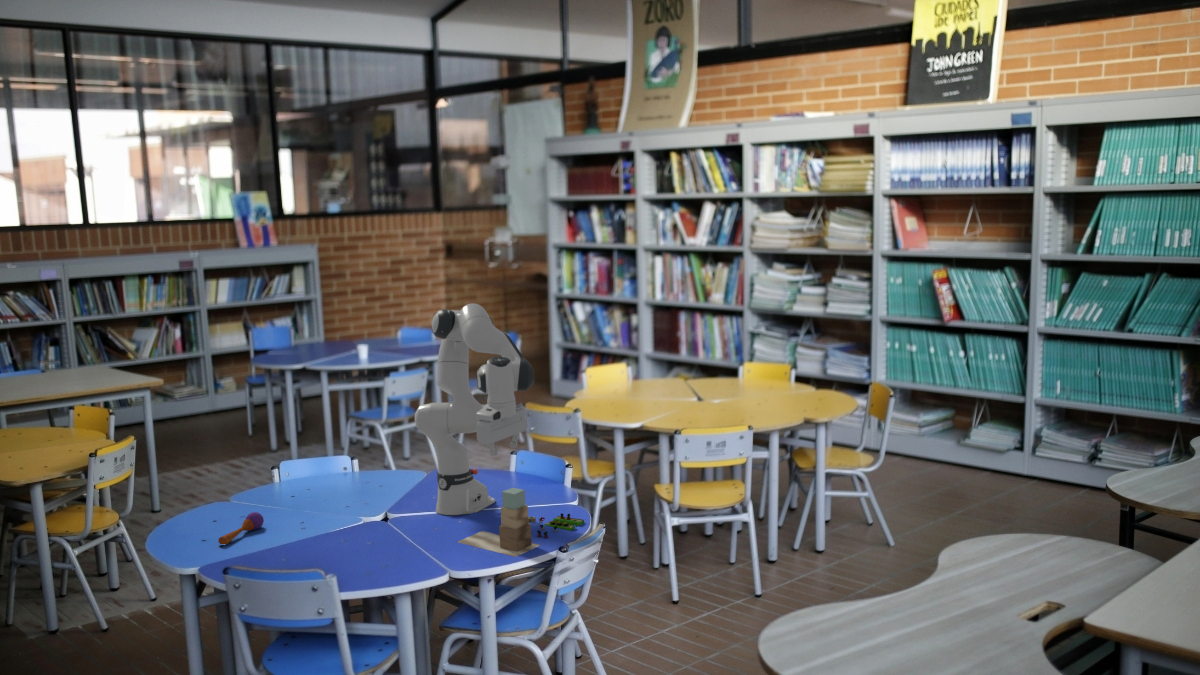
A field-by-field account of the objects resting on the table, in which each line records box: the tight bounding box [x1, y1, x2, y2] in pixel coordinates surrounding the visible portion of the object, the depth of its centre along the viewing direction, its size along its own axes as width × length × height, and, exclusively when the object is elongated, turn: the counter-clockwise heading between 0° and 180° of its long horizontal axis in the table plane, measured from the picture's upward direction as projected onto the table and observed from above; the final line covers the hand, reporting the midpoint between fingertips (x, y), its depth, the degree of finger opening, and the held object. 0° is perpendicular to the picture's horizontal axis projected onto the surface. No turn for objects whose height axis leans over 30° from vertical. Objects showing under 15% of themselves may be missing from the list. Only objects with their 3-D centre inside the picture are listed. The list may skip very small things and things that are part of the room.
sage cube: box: [501, 487, 526, 510], centre depth 305 cm, size 5×5×5 cm
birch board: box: [457, 530, 541, 558], centre depth 310 cm, size 12×25×2 cm, turn 54°
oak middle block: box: [500, 504, 530, 529], centre depth 305 cm, size 6×6×6 cm
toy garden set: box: [528, 513, 585, 539], centre depth 325 cm, size 23×19×5 cm
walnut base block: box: [498, 522, 533, 552], centre depth 306 cm, size 7×7×7 cm
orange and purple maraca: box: [217, 511, 265, 545], centre depth 329 cm, size 6×6×20 cm
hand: (504, 451), depth 309 cm, fingers open, 8 cm apart
